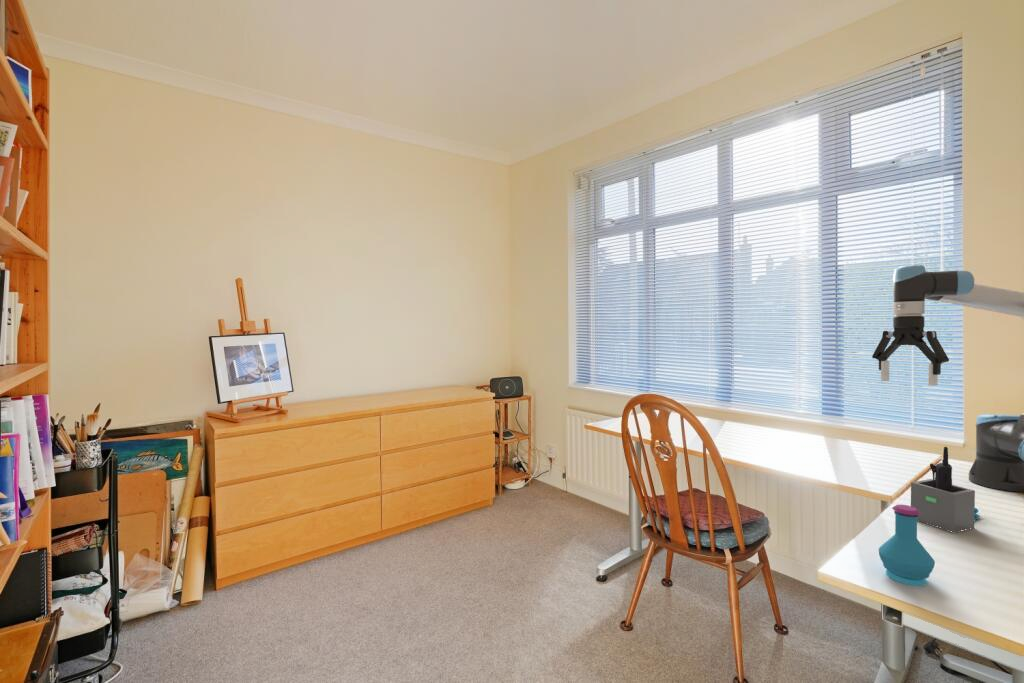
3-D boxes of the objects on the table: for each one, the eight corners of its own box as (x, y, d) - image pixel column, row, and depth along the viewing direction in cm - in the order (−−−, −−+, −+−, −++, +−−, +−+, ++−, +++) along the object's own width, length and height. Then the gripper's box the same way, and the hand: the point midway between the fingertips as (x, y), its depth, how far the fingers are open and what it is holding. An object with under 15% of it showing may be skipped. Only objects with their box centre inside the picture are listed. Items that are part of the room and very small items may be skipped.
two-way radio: (952, 505, 123) (953, 448, 123) (930, 502, 126) (930, 446, 126) (951, 499, 128) (952, 444, 127) (929, 496, 131) (929, 442, 130)
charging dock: (930, 514, 133) (930, 478, 133) (974, 528, 124) (974, 490, 123) (909, 518, 130) (910, 482, 130) (953, 533, 121) (953, 494, 121)
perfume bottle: (939, 593, 95) (940, 519, 94) (881, 581, 100) (881, 510, 99) (929, 572, 102) (930, 504, 102) (875, 562, 107) (876, 496, 107)
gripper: (859, 316, 159) (859, 379, 160) (947, 314, 136) (947, 388, 136) (875, 316, 162) (875, 378, 162) (964, 314, 138) (964, 386, 139)
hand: (908, 383), depth 149 cm, fingers open, 13 cm apart
